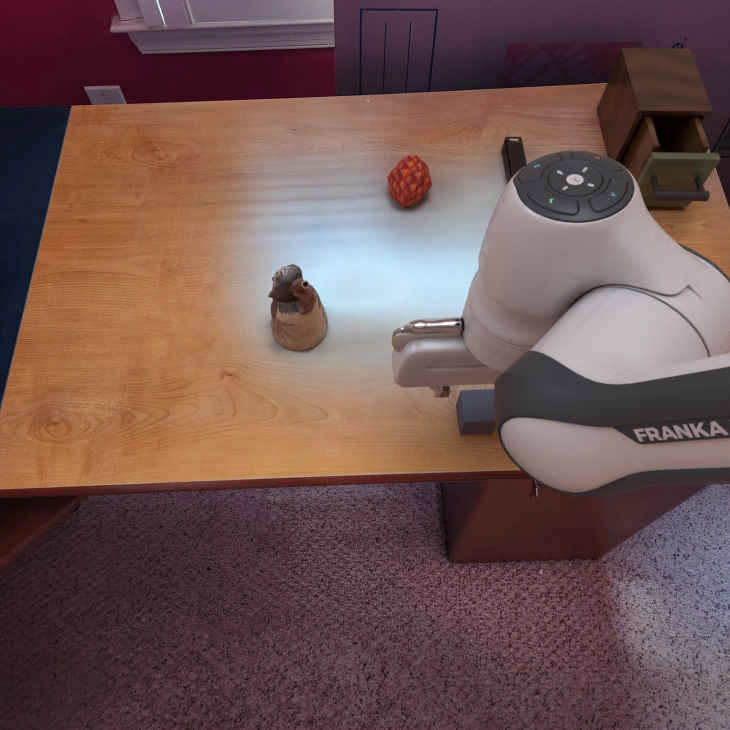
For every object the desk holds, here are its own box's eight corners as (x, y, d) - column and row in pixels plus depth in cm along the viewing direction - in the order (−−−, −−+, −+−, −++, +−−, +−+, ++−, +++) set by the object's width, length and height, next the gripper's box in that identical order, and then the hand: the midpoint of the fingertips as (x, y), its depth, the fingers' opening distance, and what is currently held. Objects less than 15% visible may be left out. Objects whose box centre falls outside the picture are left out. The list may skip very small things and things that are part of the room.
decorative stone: (385, 211, 88) (399, 162, 88) (428, 218, 86) (441, 167, 86) (375, 194, 81) (389, 141, 82) (420, 201, 79) (435, 146, 80)
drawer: (694, 227, 82) (729, 181, 74) (632, 226, 82) (659, 180, 74) (669, 145, 89) (697, 95, 82) (611, 145, 89) (635, 95, 82)
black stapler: (533, 238, 82) (539, 223, 79) (515, 238, 82) (520, 223, 79) (517, 148, 90) (521, 132, 88) (500, 148, 90) (504, 133, 88)
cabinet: (676, 170, 88) (713, 111, 79) (610, 169, 88) (639, 110, 79) (657, 110, 94) (689, 48, 85) (596, 109, 95) (621, 47, 85)
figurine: (304, 296, 78) (294, 237, 67) (339, 329, 75) (334, 273, 65) (262, 326, 75) (245, 270, 65) (296, 362, 73) (284, 309, 62)
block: (488, 402, 70) (494, 388, 67) (493, 433, 68) (500, 420, 65) (455, 404, 70) (460, 390, 67) (459, 435, 68) (464, 422, 65)
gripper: (395, 356, 47) (389, 421, 60) (641, 346, 48) (585, 412, 60) (390, 293, 50) (385, 367, 63) (622, 284, 51) (571, 359, 63)
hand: (484, 389), depth 61 cm, fingers open, 8 cm apart
